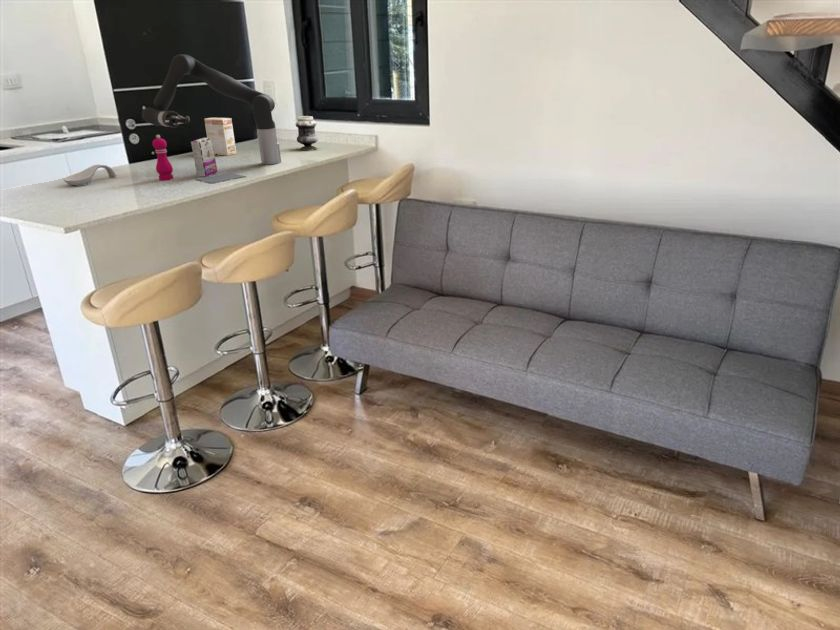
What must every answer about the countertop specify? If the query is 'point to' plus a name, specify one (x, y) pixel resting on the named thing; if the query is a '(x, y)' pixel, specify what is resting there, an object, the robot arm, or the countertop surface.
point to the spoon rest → (87, 175)
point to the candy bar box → (204, 157)
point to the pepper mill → (162, 159)
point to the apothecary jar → (306, 132)
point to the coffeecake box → (221, 135)
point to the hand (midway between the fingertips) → (186, 120)
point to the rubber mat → (220, 177)
